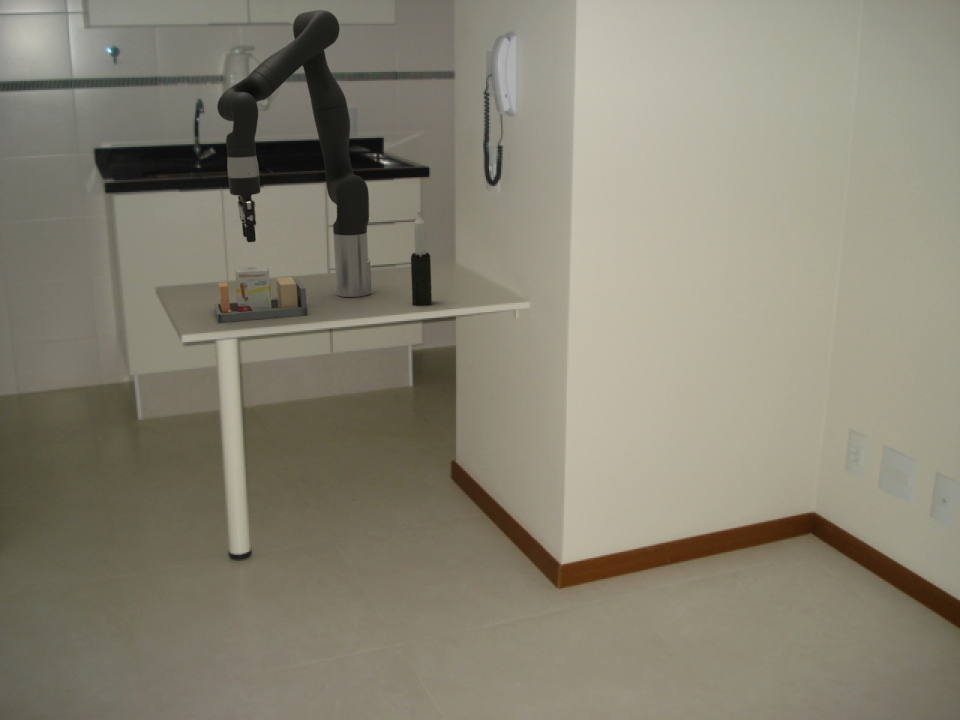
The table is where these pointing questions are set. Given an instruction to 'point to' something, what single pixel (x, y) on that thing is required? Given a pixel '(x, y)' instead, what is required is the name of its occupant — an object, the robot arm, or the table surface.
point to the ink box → (253, 289)
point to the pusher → (224, 298)
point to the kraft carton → (286, 293)
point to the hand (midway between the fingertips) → (249, 239)
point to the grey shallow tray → (266, 313)
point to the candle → (420, 266)
